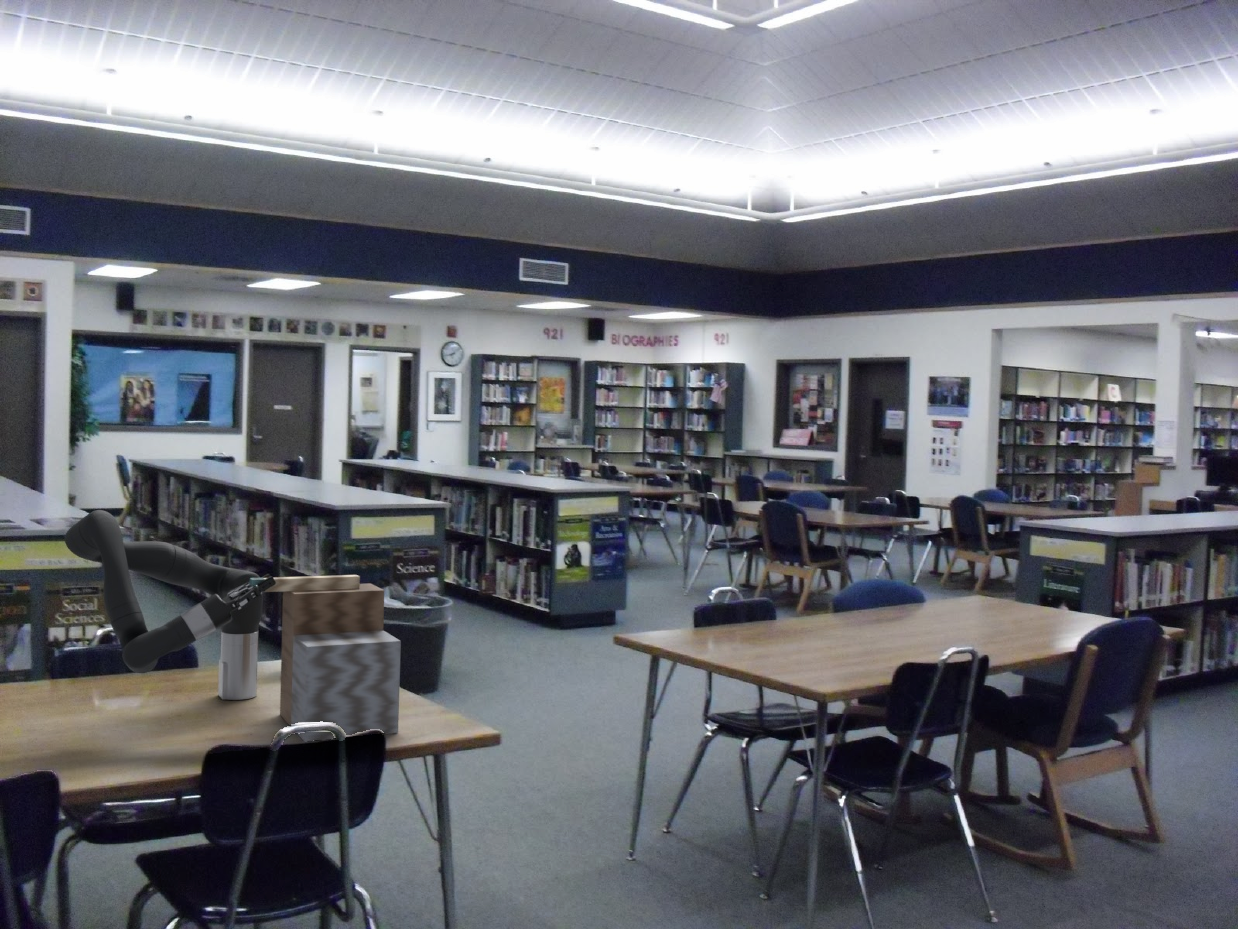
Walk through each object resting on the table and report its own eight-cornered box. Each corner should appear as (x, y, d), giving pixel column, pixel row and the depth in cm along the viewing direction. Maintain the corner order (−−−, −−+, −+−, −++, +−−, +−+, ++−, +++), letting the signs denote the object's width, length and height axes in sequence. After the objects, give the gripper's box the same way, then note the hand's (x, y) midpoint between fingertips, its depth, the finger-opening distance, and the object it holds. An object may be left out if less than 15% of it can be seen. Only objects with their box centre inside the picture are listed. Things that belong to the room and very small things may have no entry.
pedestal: (304, 742, 262) (308, 603, 261) (279, 714, 285) (283, 586, 284) (398, 732, 273) (402, 599, 272) (366, 706, 296) (370, 583, 294)
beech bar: (251, 592, 273) (252, 579, 273) (249, 590, 276) (249, 578, 276) (359, 588, 285) (359, 576, 285) (356, 586, 288) (356, 574, 288)
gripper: (203, 608, 263) (271, 569, 269) (193, 599, 275) (258, 561, 282) (219, 636, 265) (286, 596, 271) (209, 625, 277) (273, 587, 284)
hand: (272, 578), depth 277 cm, fingers closed on beech bar, 3 cm apart
